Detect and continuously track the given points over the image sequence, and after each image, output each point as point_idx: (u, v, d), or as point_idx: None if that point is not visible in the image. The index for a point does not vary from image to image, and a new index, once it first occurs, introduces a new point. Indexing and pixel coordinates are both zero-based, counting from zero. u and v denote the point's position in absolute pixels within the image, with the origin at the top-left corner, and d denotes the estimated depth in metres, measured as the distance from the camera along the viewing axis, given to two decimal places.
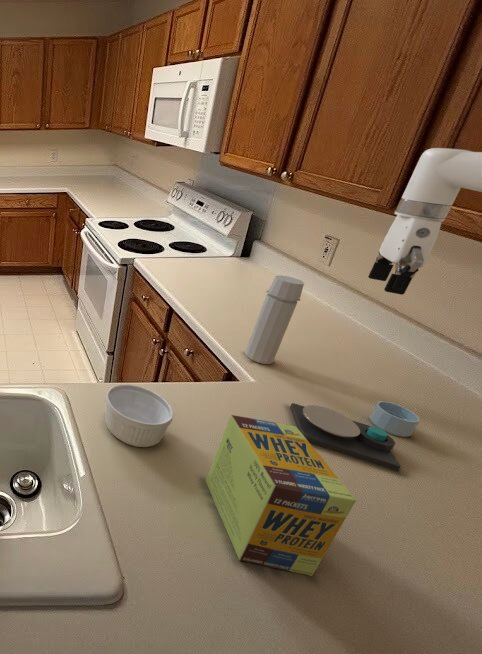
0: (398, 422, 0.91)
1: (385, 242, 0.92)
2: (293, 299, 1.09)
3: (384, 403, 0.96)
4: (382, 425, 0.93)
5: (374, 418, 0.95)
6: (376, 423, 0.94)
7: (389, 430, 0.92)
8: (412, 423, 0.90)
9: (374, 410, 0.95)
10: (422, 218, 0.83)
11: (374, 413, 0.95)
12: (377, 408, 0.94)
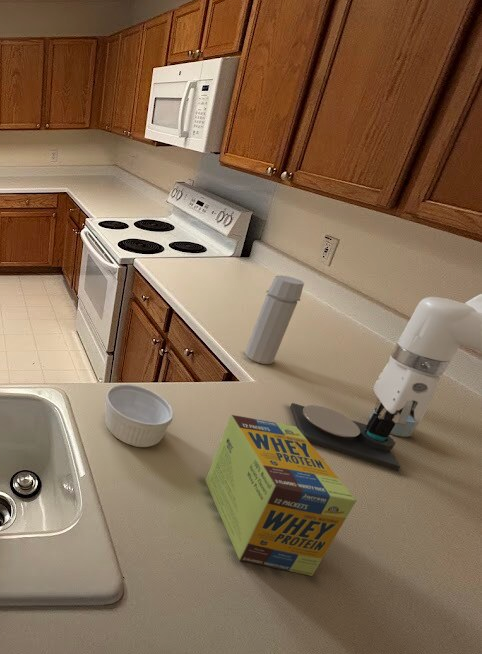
0: None
1: (380, 382, 0.86)
2: (293, 299, 1.09)
3: None
4: None
5: None
6: None
7: None
8: (412, 423, 0.90)
9: None
10: (419, 372, 0.78)
11: None
12: None
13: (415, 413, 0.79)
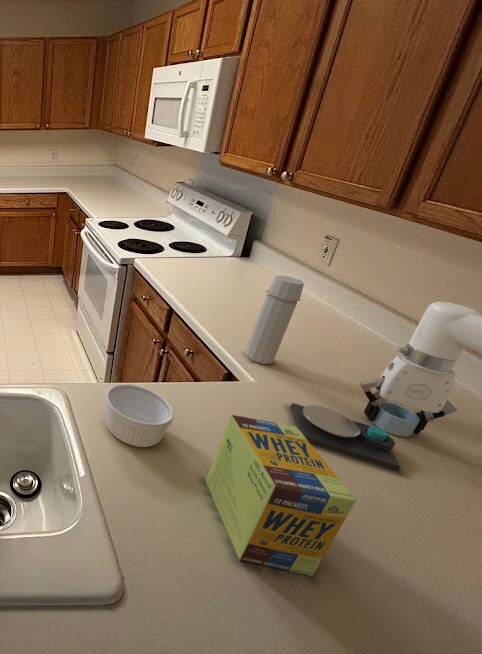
0: (398, 422, 0.91)
1: None
2: (293, 299, 1.09)
3: (384, 403, 0.96)
4: (382, 425, 0.93)
5: None
6: (376, 423, 0.94)
7: (389, 430, 0.92)
8: (412, 423, 0.90)
9: None
10: (401, 356, 0.90)
11: None
12: None
13: (380, 388, 0.92)
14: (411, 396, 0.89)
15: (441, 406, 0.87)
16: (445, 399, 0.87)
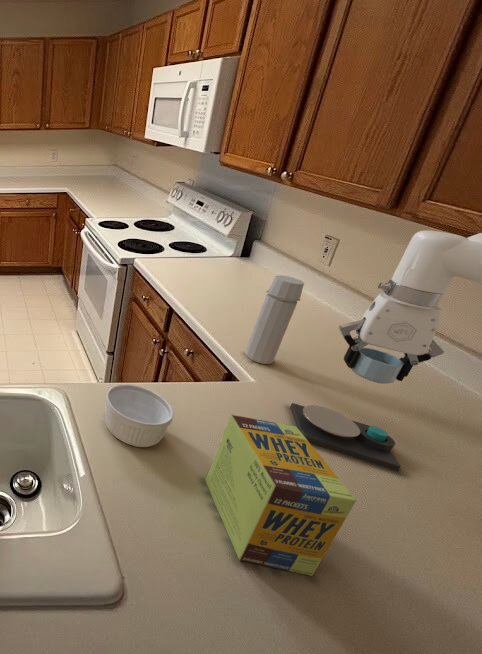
0: (379, 367, 0.83)
1: None
2: (293, 299, 1.09)
3: (366, 349, 0.88)
4: (362, 371, 0.85)
5: None
6: (356, 370, 0.86)
7: (370, 376, 0.84)
8: (395, 367, 0.82)
9: None
10: (384, 294, 0.82)
11: None
12: None
13: (361, 330, 0.84)
14: (393, 337, 0.81)
15: (426, 347, 0.79)
16: (431, 339, 0.78)
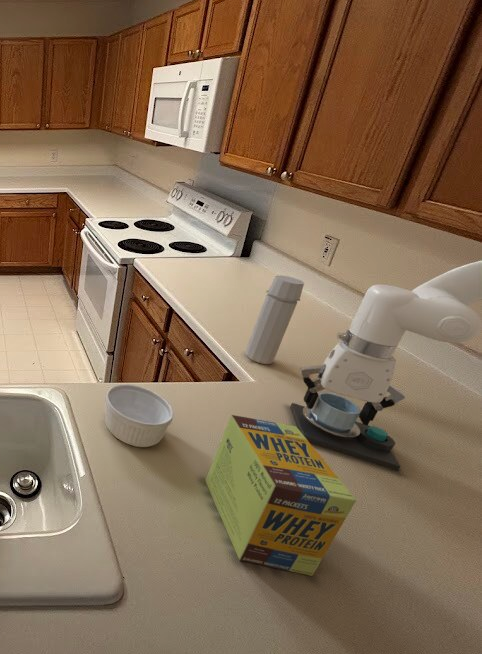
0: (338, 414, 0.86)
1: None
2: (293, 299, 1.09)
3: (326, 395, 0.91)
4: (322, 418, 0.88)
5: (315, 410, 0.90)
6: (317, 415, 0.89)
7: (329, 423, 0.87)
8: (352, 415, 0.85)
9: (315, 402, 0.90)
10: (342, 343, 0.85)
11: (315, 405, 0.90)
12: (318, 400, 0.90)
13: (322, 377, 0.87)
14: (352, 385, 0.84)
15: (382, 395, 0.82)
16: (386, 388, 0.82)
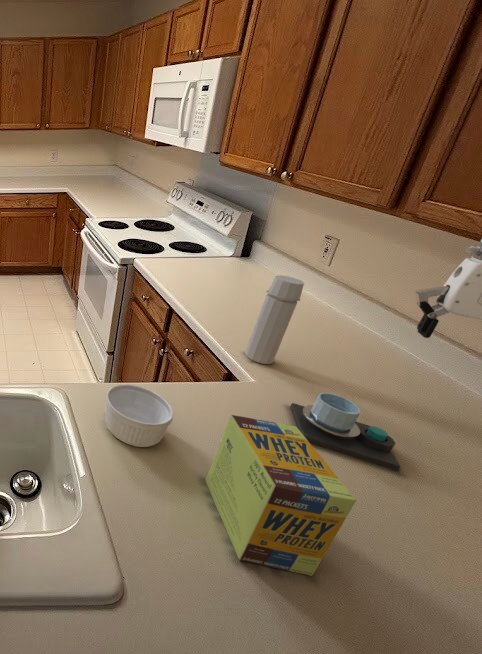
0: (338, 414, 0.86)
1: None
2: (293, 299, 1.09)
3: (326, 395, 0.91)
4: (322, 418, 0.88)
5: (315, 410, 0.90)
6: (317, 415, 0.89)
7: (329, 423, 0.87)
8: (352, 415, 0.85)
9: (315, 402, 0.90)
10: (471, 258, 0.74)
11: (315, 405, 0.90)
12: (318, 400, 0.90)
13: (444, 299, 0.76)
14: None
15: None
16: None
